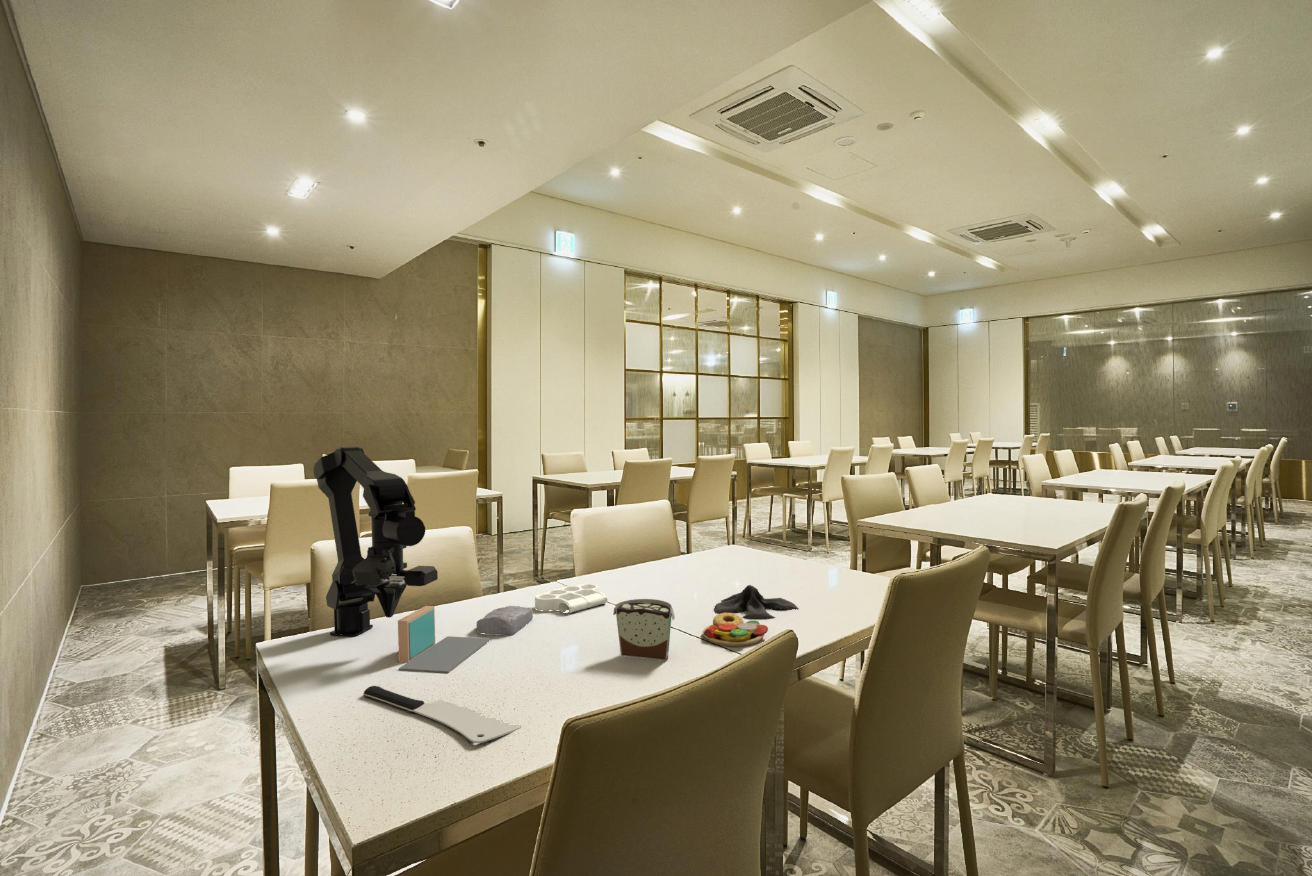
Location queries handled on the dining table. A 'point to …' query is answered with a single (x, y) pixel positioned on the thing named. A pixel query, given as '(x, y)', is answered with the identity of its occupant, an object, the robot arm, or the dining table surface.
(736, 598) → the cloth
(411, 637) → the tan flat block
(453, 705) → the kitchen cleaver
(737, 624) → the toy food set
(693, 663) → the dining table surface
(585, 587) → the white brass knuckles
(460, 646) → the mat
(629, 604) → the food container
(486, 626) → the stone block
